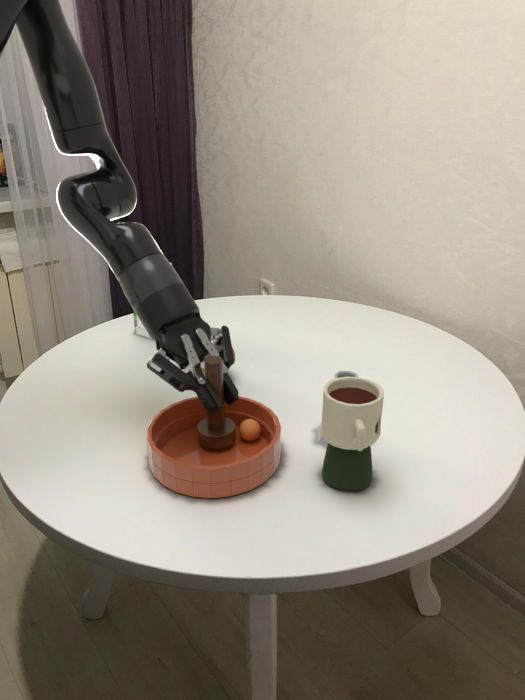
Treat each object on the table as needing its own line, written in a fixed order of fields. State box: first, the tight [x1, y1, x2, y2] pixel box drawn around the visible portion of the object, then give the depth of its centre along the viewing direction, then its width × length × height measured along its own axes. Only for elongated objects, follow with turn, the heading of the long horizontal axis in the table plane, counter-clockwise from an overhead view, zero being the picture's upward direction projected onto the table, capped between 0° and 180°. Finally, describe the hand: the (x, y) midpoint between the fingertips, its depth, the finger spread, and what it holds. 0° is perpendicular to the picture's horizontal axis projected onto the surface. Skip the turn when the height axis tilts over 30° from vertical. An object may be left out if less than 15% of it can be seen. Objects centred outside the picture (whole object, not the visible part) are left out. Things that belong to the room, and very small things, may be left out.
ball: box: [239, 419, 261, 441], centre depth 81 cm, size 3×3×3 cm
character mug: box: [321, 376, 385, 491], centre depth 72 cm, size 11×7×13 cm, turn 4°
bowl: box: [146, 395, 282, 499], centre depth 77 cm, size 17×17×5 cm
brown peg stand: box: [197, 356, 236, 449], centre depth 78 cm, size 5×5×12 cm
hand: (225, 405), depth 77 cm, fingers closed on brown peg stand, 2 cm apart
